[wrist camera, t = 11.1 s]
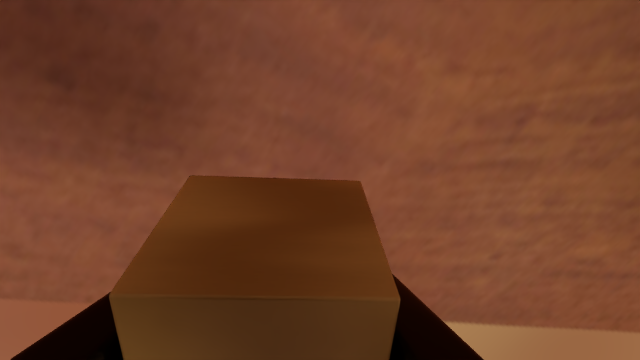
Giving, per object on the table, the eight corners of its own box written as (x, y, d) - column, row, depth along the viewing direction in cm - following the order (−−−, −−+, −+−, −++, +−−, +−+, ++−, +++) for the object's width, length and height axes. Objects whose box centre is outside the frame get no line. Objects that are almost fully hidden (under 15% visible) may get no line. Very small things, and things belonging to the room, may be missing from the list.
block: (361, 180, 9) (401, 298, 5) (346, 308, 10) (370, 467, 7) (189, 174, 9) (106, 295, 5) (202, 306, 10) (147, 471, 7)
